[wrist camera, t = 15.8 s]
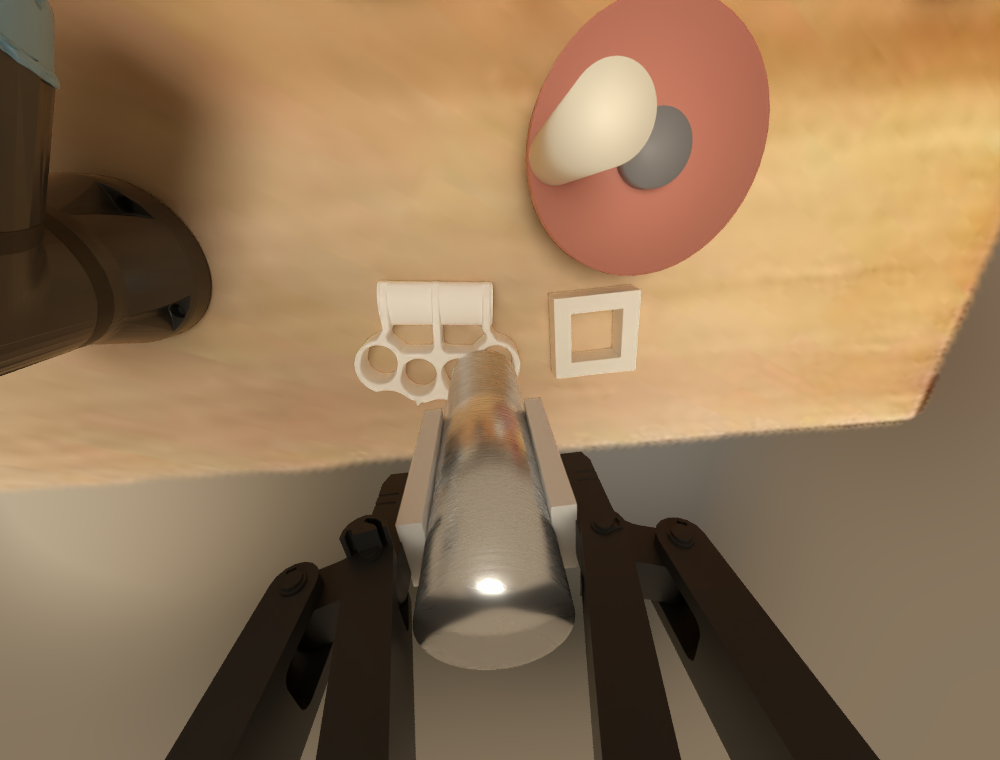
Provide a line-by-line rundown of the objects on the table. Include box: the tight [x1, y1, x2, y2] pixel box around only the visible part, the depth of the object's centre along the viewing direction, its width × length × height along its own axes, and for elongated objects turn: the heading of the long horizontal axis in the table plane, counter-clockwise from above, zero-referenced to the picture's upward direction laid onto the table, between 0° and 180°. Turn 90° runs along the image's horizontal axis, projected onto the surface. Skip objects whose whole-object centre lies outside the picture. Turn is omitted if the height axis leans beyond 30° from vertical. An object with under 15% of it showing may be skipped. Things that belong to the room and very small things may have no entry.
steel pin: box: [413, 350, 575, 670], centre depth 15 cm, size 4×4×14 cm
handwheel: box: [526, 0, 770, 276], centre depth 22 cm, size 18×18×14 cm
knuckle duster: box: [354, 280, 521, 407], centre depth 39 cm, size 3×18×15 cm
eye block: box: [548, 284, 641, 379], centre depth 39 cm, size 9×9×3 cm
